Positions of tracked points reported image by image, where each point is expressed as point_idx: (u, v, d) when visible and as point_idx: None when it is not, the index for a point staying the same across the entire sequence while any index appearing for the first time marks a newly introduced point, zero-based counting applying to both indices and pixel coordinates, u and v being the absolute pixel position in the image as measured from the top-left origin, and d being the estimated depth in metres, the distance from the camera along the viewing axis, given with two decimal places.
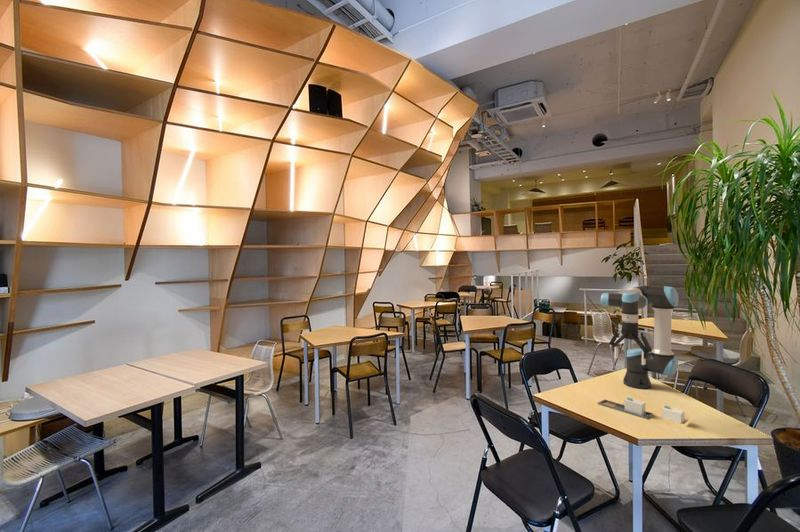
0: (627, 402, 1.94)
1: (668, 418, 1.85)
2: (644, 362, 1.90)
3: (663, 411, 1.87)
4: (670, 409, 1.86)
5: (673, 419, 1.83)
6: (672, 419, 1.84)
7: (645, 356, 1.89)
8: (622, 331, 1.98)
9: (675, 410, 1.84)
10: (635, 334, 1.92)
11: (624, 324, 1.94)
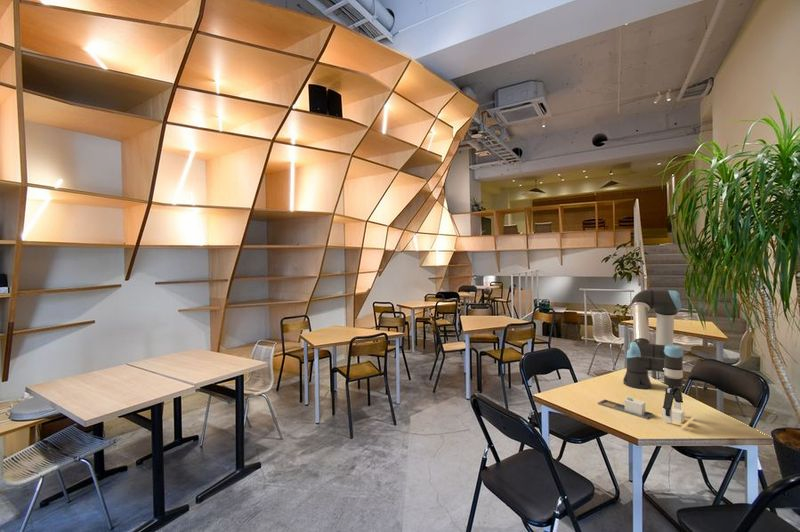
0: (627, 402, 1.94)
1: None
2: (667, 420, 1.81)
3: (663, 411, 1.87)
4: None
5: (673, 419, 1.83)
6: (672, 419, 1.84)
7: None
8: None
9: (675, 410, 1.84)
10: None
11: None
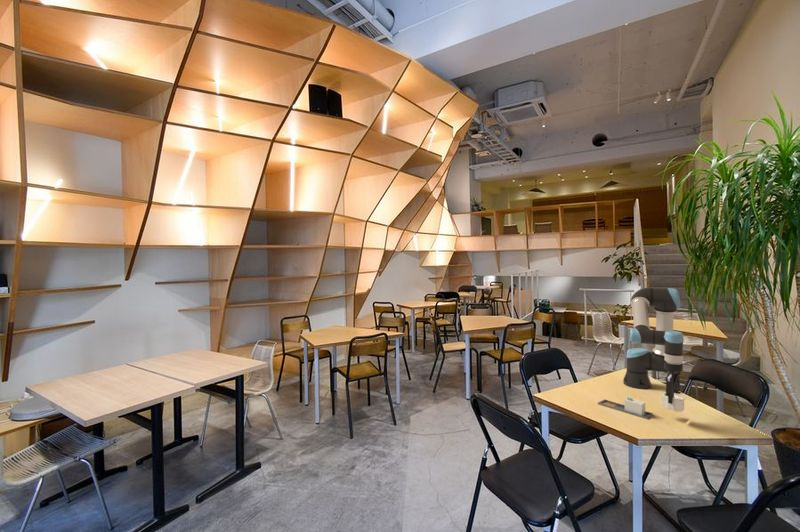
0: (627, 402, 1.94)
1: None
2: (670, 407, 1.84)
3: (663, 398, 1.87)
4: None
5: None
6: None
7: None
8: None
9: (675, 397, 1.85)
10: None
11: None
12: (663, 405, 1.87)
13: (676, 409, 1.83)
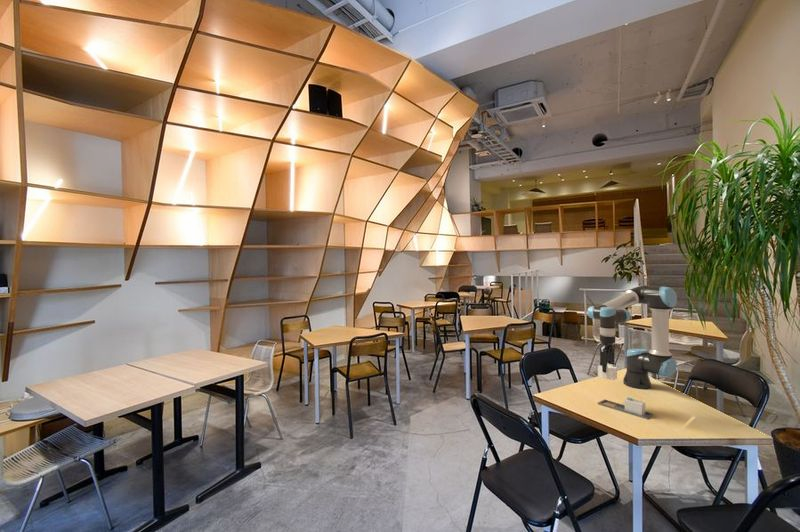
0: (627, 402, 1.94)
1: None
2: (604, 375, 2.02)
3: (599, 368, 2.05)
4: None
5: None
6: None
7: None
8: None
9: (609, 367, 2.03)
10: None
11: None
12: (599, 374, 2.05)
13: (609, 377, 2.01)
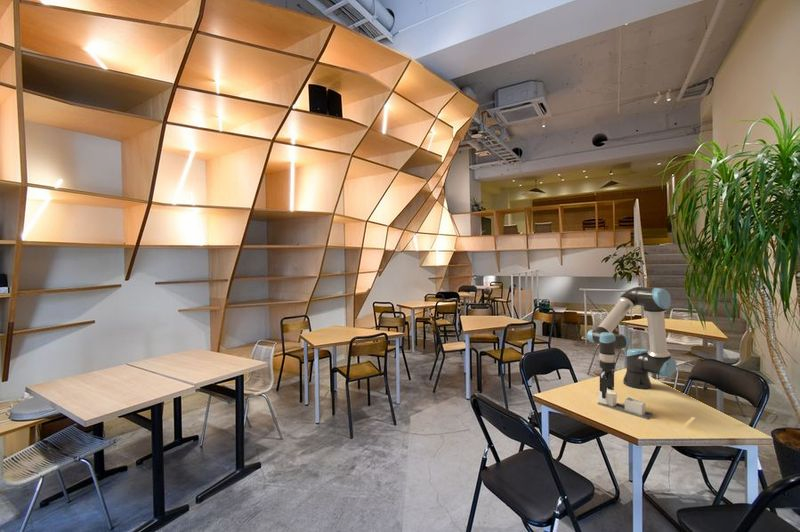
0: (627, 402, 1.94)
1: None
2: (604, 401, 2.03)
3: (598, 393, 2.06)
4: None
5: None
6: None
7: None
8: None
9: (609, 392, 2.04)
10: None
11: None
12: (598, 400, 2.06)
13: (609, 403, 2.02)
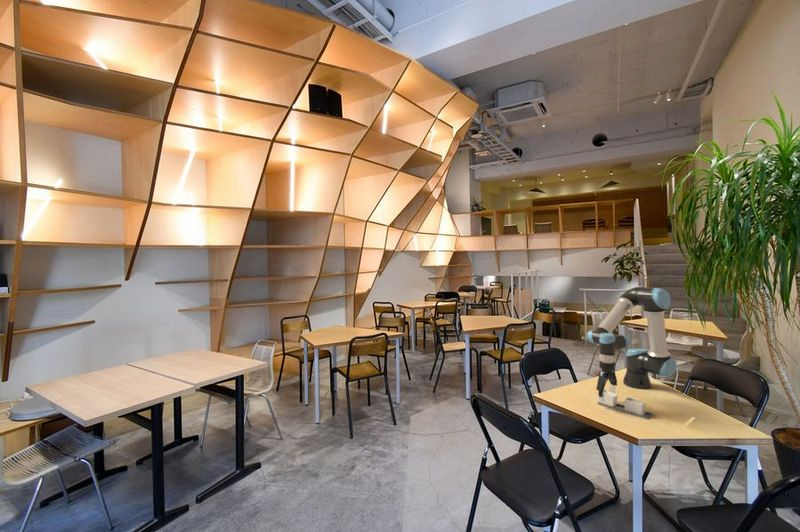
0: (627, 402, 1.94)
1: None
2: (600, 400, 2.01)
3: None
4: (606, 392, 2.04)
5: (607, 401, 2.02)
6: (606, 401, 2.03)
7: None
8: None
9: (610, 393, 2.03)
10: None
11: None
12: None
13: (609, 404, 2.02)
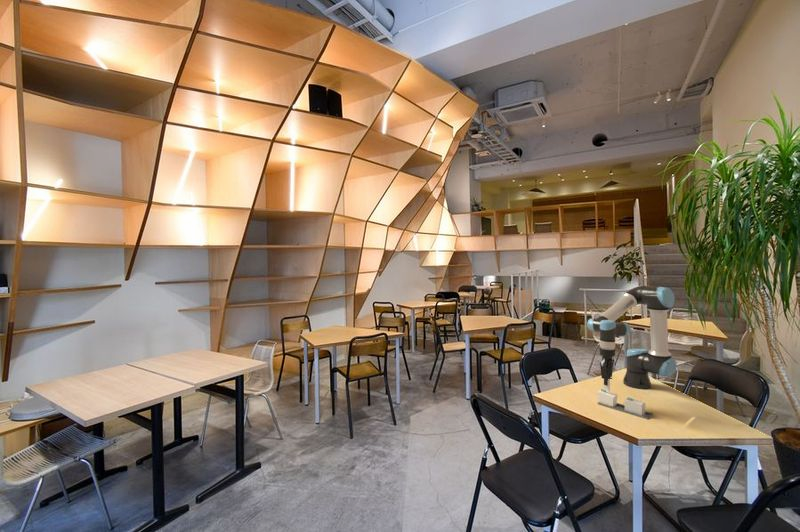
0: (627, 402, 1.94)
1: (603, 400, 2.04)
2: (605, 388, 2.04)
3: (599, 394, 2.05)
4: (605, 392, 2.04)
5: (607, 401, 2.02)
6: (606, 401, 2.03)
7: None
8: None
9: (609, 393, 2.03)
10: None
11: None
12: (598, 400, 2.06)
13: (609, 404, 2.02)
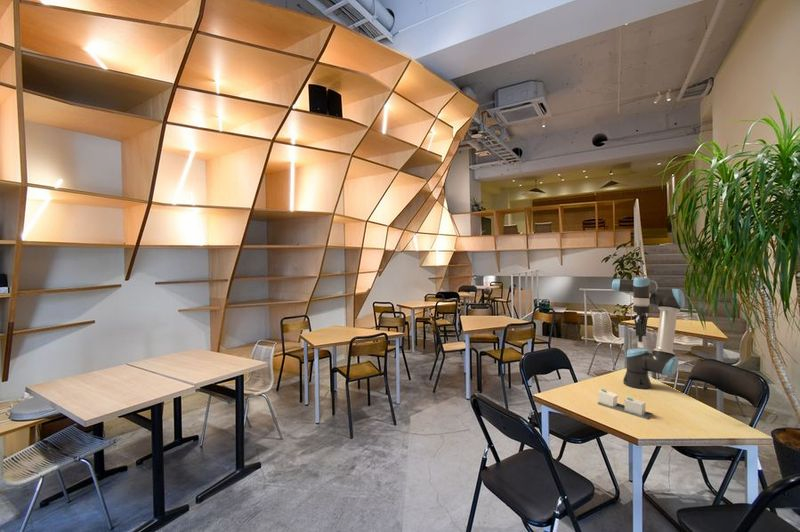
0: (627, 402, 1.94)
1: (603, 400, 2.04)
2: (640, 345, 2.05)
3: (599, 394, 2.05)
4: (606, 392, 2.04)
5: (607, 401, 2.02)
6: (606, 401, 2.03)
7: None
8: None
9: (610, 393, 2.03)
10: None
11: None
12: (598, 399, 2.06)
13: (609, 404, 2.02)
